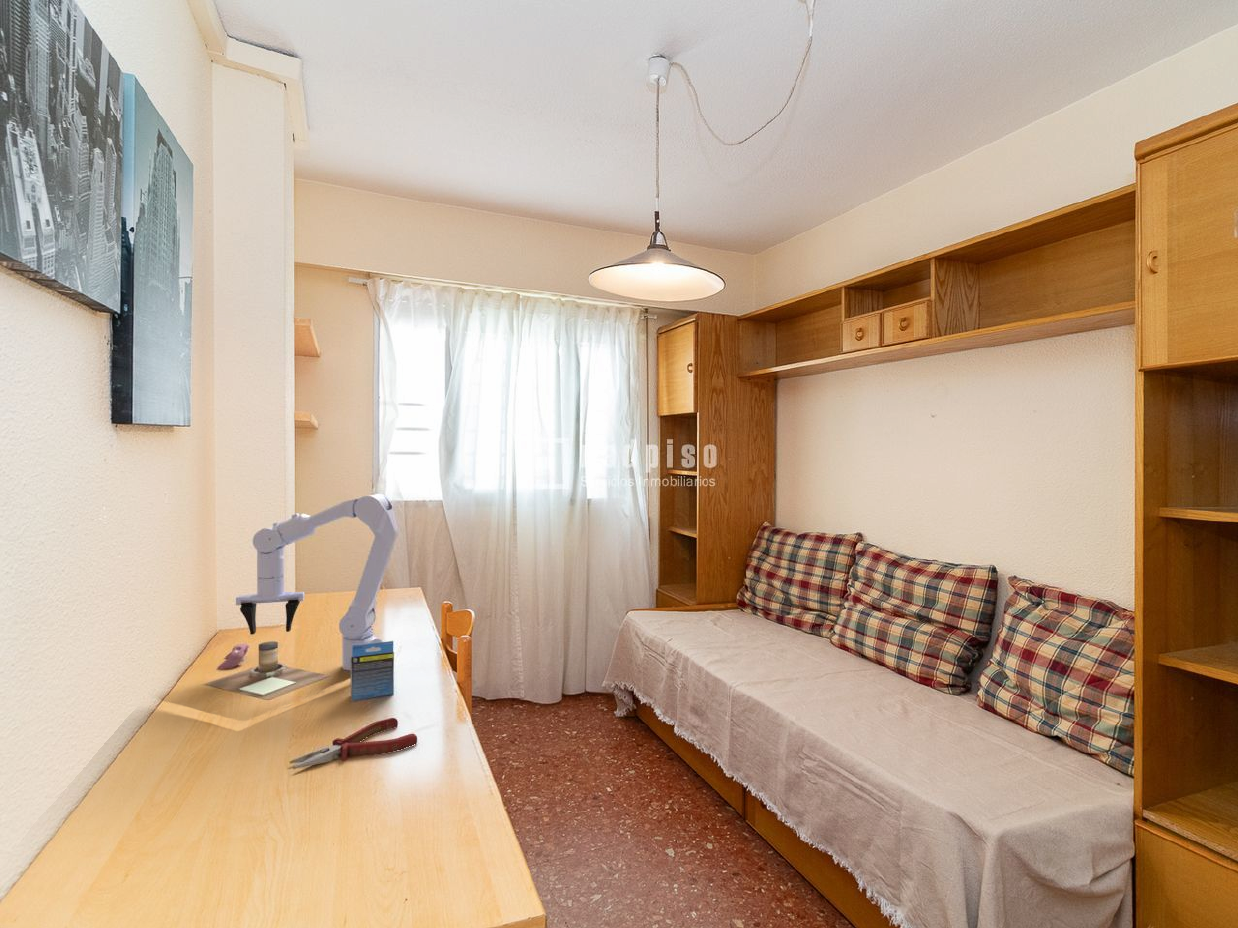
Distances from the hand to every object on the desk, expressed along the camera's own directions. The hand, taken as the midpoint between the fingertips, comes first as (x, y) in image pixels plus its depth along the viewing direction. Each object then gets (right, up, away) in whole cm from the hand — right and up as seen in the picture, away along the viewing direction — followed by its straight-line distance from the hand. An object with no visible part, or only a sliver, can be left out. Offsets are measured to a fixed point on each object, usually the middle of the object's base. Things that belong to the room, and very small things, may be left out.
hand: (271, 632), depth 149 cm
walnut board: (+4, -11, -8) cm, 13 cm away
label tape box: (+30, -11, -13) cm, 34 cm away
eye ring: (+1, -9, -3) cm, 10 cm away
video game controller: (-12, -11, +4) cm, 17 cm away
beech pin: (+1, -9, -3) cm, 10 cm away
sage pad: (+6, -9, -12) cm, 16 cm away
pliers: (+37, -12, -37) cm, 53 cm away
